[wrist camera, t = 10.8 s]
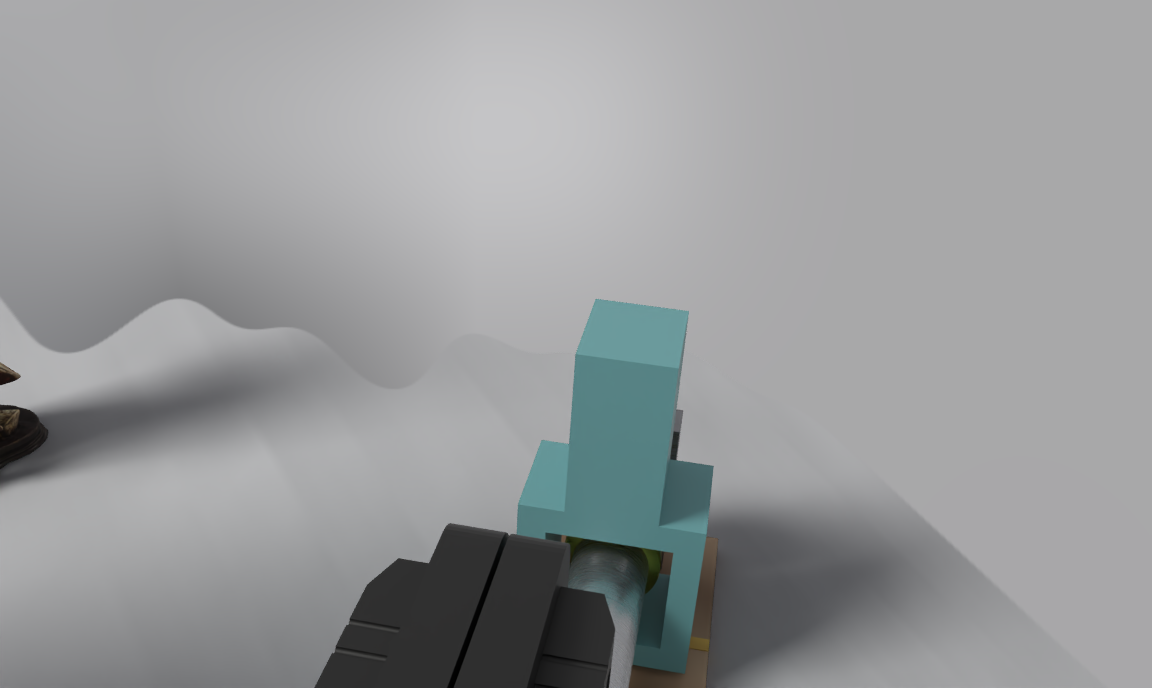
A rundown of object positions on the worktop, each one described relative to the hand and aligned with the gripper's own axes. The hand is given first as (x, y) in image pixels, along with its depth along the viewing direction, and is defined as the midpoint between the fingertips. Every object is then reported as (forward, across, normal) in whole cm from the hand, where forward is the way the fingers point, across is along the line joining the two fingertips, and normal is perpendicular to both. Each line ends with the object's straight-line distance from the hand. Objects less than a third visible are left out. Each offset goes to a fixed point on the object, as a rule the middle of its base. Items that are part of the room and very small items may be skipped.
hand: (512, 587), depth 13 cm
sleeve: (+20, 0, -21) cm, 29 cm away
